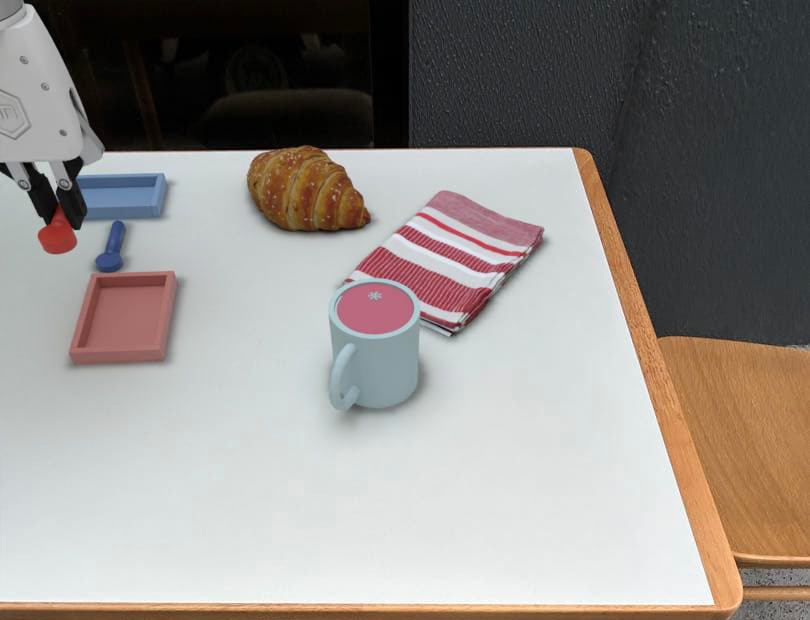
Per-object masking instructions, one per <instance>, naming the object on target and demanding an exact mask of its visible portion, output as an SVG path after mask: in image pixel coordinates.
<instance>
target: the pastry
mask: <svg viewBox="0 0 810 620" xmlns="http://www.w3.org/2000/svg"><path fill="white" fill-rule="evenodd" d="M246 182H247V183H246V185H247V188H248V192H249V193H250V195H251V197H252V198H253V201H254V204H255V205H256V206H255V207H257V208H258V209H259V210H260V211H262V212H263V214H264V216H265V217H266V219H268V220H269V221H270V222H271V223H273V224H277V226H278V227H280V228H281V229H284V230H286V231H289V232H296V231H299V230H302V231H306V232H317V231H319V229H322V230H325V231H332V232H333V231H337V230H339V229H341V228H345V229H355V228H361V227H363V226H365V225H366V224H368V223H370V221H371V214H370V212H369V210H368V208H367V207H366V206H365V200H364V196H363V195H362V193H361V192H360V191H359V190H357V189H356V188H355V187H354V184H353V181H352V179H351V178H350V176H349V175H348V172H347V171H346V168H345V167H344V166H343V165H342V164H338V163H337V162H335V161H334V160H332V159H331V158H330V157H329V155H328V153H327V152H326V151H324V150H323V149H321V148H318V147H314V146H311V145H305V144H304V145H301V146H299V147H283V148H281V149H273V150H272V149H270V150H269V151H264V152H262V153H259V154H257V155H256V156H255V157H253V160H252V161H251V163H250V165H249V169H248V171H247V174H246Z"/></svg>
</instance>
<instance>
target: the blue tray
mask: <svg viewBox="0 0 810 620" xmlns="http://www.w3.org/2000/svg"><path fill="white" fill-rule="evenodd" d="M76 181H77V183H78V186H79V187H80V189H81V191H82V195H83V198H84V200H85V203H86V205H87V215H86V216H85V217H84V220H83V221H91V220H94V221H95V220H127V219H128V220H130V219H157V218H158V219H159V218H161V216H162V211H163V205H164V202H165V197H166V193H167V189H168V182H167V180H166V175H165V173H164V172H148V173H147V172H145V173H144V172H143V173H141V172H140V173H107V174H106V173H105V174H78V176H77V177H76ZM55 195H56V193H55ZM56 198H57V196H56ZM57 200H58V198H57ZM58 202H59V200H58Z"/></svg>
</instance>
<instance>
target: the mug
mask: <svg viewBox="0 0 810 620" xmlns="http://www.w3.org/2000/svg"><path fill="white" fill-rule="evenodd" d="M327 313H328V321H329V330H330V340H331V349H332V359H333V366H332V369H331V373H330V377H329V381H328V382H329V383H328V398H329V401H330V404H331V406H332V407H333V408H334V409H335V410H337V411H339V412H342V411H343V412H344V411H347V410H348V409H350V408H351V407H352V406H353V405H357V406H360V407H363V408H367V409H385V408H390V407H393V406H394V407H395V406H397V405H399V404H402V403H403V402H405V401H406V400H407V399H409V398H410V397H411V396H412V395H413V393H414V392H415V391H416V390H417V386H418V383H419V359H420V358H419V356H420V328H421V327H420V326H421V324H420V303H419V300H418V298H417V296H416V295H415V294H414V293H413V291H411V290H410V289H409V288H408V287H406V286H404V285H403V284H401V283H398V282H396V281H392V280H388V279H382V278H367V279H361V280H356V281H353V282H350V283H348V284H346V285H344V286H342V285H341V287H340V288H338V289H337V290H336V291H335V292H334V293H333V294H332V295H331V297H330V298H329V301H328V305H327ZM342 397H343V398H342Z"/></svg>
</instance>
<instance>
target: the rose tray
mask: <svg viewBox="0 0 810 620" xmlns="http://www.w3.org/2000/svg"><path fill="white" fill-rule="evenodd" d="M178 284H179V282H178V279H177V276H176V274H175V271H174V270H158V271H155V270H154V271H128V272H127V271H126V272H125V271H124V272H111V273H105V272H99V273H98V272H97V273H94V272H93V273H91V274H90V277H89V281H88V284H87V288H86V291H85V293H84V294H85V295H84V298H83V301H82V305H81V308H80V312H79V316H78V318H77V323H76V326H75V329H74V333H73V335H72V339H71V343H70V346H69V350H68V355H69V356H70V358H71V360H72V362H73V364H74V365H94V364H119V363H120V364H122V363H123V364H124V363H148V362H164V361H165V356H166V351H167V346H168V340H169V334H170V330H171V329H170V328H171V322H172V317H173V312H174V305H175V300H176V296H177V290H178Z"/></svg>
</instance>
